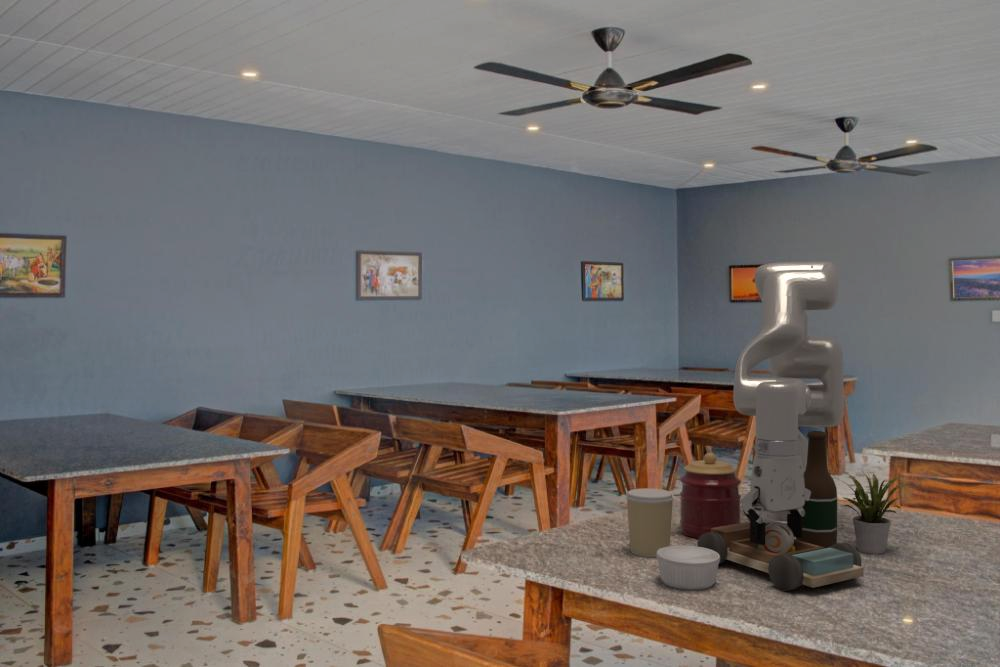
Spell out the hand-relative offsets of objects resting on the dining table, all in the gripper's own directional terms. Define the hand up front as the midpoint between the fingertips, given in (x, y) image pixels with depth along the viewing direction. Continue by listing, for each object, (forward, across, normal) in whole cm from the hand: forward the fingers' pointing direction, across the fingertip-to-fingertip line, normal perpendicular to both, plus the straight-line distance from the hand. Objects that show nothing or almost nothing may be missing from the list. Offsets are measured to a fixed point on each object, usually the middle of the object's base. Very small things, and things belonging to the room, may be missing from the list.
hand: (776, 539), depth 164 cm
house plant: (+6, +28, -1) cm, 29 cm away
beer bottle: (+6, +18, +6) cm, 20 cm away
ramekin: (+6, -19, +3) cm, 20 cm away
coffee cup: (+6, -12, +22) cm, 26 cm away
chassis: (+6, 0, 0) cm, 6 cm away
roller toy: (+3, 0, 0) cm, 3 cm away
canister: (+6, +9, +27) cm, 29 cm away
